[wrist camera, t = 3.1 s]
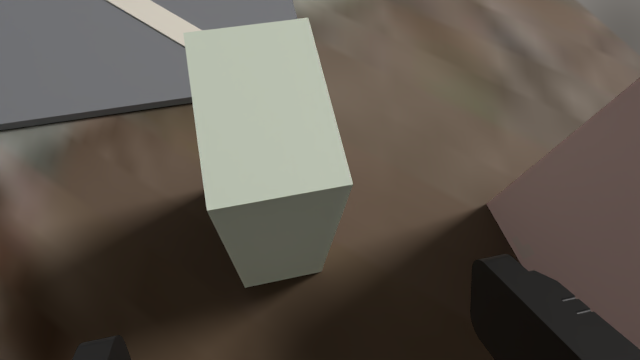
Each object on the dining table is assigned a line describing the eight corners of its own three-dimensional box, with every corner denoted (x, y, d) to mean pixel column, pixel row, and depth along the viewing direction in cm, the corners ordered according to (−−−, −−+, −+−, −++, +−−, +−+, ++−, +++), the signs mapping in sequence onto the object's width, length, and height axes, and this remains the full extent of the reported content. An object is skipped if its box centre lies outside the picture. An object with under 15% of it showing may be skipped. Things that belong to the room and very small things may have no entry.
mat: (-37, 135, 25) (-46, 129, 24) (-20, -55, 30) (-26, -64, 30) (312, 85, 28) (312, 78, 27) (270, -80, 33) (269, -89, 33)
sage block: (244, 287, 23) (206, 210, 12) (228, 181, 25) (183, 32, 14) (321, 271, 23) (353, 184, 12) (298, 169, 25) (308, 17, 14)
